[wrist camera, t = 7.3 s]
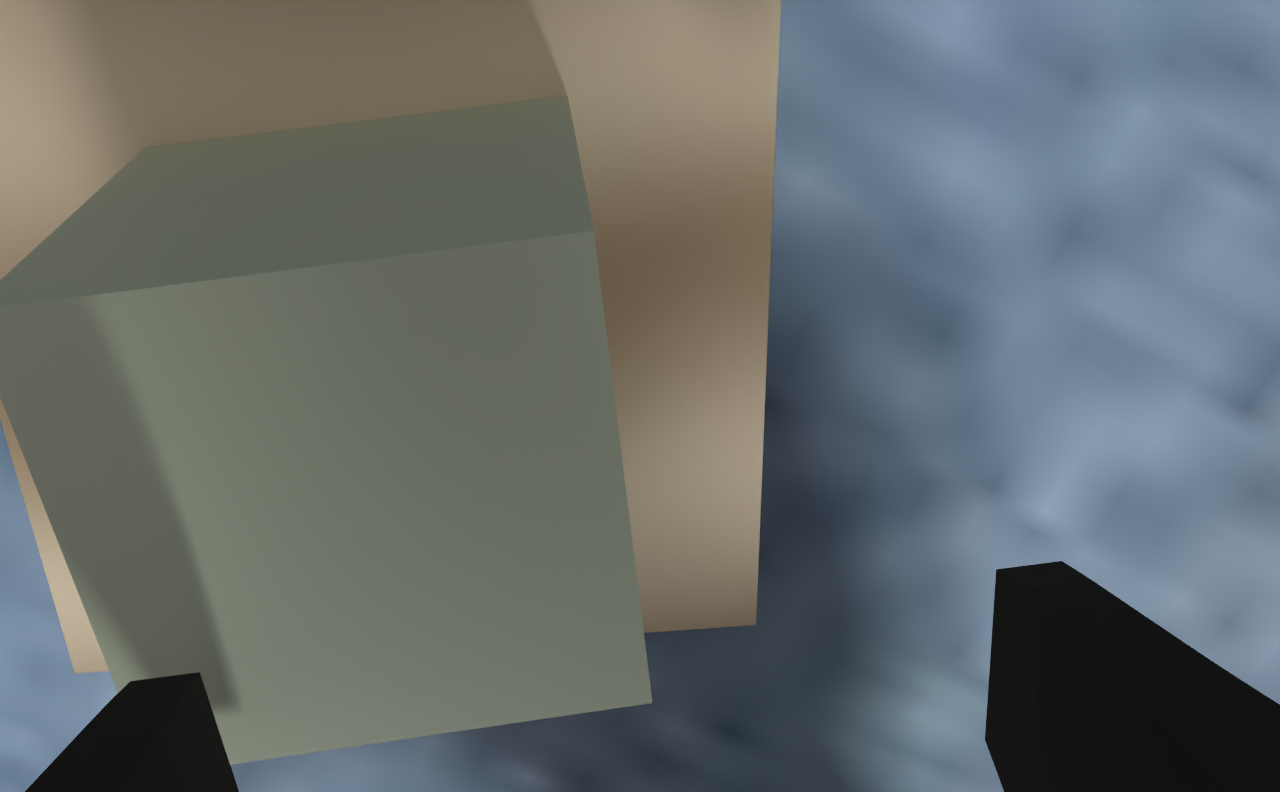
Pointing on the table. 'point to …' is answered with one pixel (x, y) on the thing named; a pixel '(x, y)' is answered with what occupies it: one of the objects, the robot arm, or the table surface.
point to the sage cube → (338, 428)
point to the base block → (455, 79)
